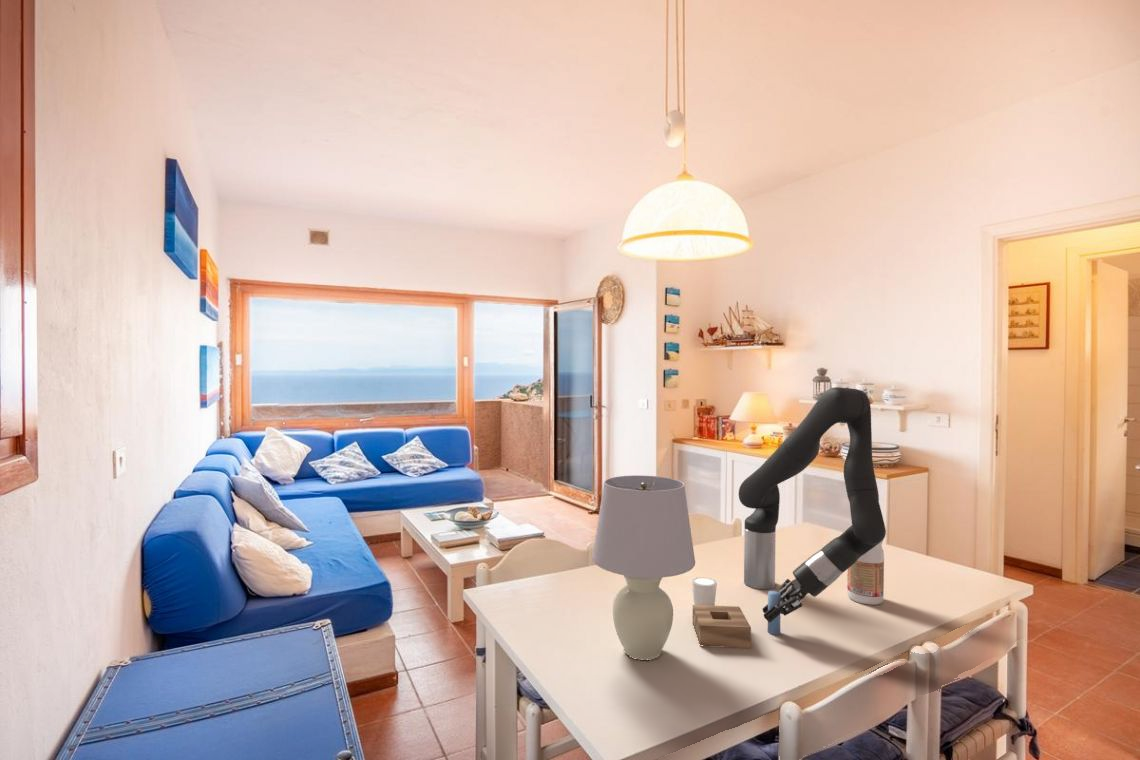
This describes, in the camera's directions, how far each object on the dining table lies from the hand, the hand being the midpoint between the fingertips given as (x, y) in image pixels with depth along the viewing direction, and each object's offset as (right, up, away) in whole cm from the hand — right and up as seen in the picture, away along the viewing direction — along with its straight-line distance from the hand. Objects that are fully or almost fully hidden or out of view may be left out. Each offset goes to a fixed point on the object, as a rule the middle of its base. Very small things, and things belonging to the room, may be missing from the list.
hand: (765, 615), depth 142 cm
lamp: (-33, -4, -11) cm, 35 cm away
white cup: (-12, -4, +16) cm, 20 cm away
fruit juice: (+37, -4, +21) cm, 42 cm away
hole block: (-12, -4, -2) cm, 13 cm away
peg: (+2, -4, 0) cm, 5 cm away
